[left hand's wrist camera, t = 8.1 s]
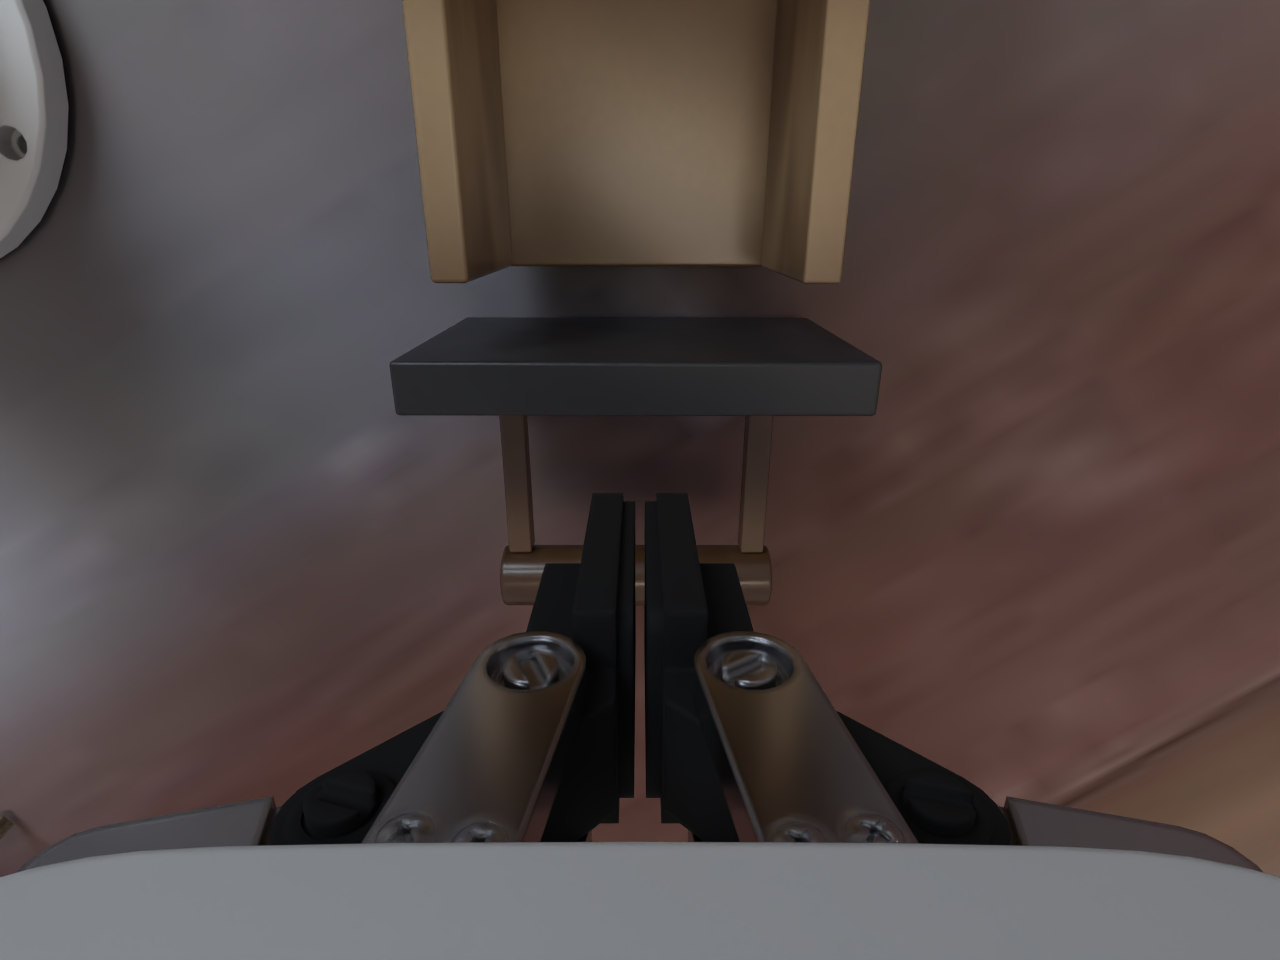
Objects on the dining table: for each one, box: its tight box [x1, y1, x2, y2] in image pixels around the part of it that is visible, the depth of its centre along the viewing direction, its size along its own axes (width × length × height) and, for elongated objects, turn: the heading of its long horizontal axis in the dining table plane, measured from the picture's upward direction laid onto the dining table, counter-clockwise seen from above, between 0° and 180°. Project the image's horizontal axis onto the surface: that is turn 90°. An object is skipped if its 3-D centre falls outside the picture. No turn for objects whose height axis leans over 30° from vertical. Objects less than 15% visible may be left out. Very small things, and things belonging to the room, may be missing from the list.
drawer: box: [390, 0, 882, 605], centre depth 16 cm, size 22×11×7 cm, turn 0°
